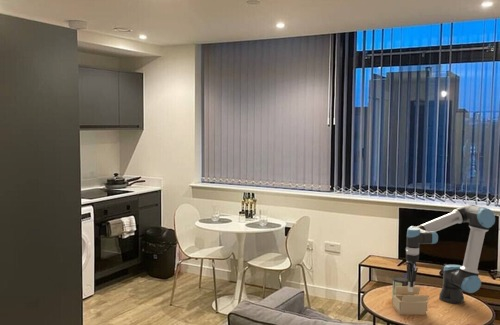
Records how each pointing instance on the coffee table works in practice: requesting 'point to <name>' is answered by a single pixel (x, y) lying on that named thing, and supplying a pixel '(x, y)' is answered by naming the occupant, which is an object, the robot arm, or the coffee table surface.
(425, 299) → the flap near camera
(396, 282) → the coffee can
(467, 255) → the robot arm
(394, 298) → the carton
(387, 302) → the coffee table surface
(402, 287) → the flap far
